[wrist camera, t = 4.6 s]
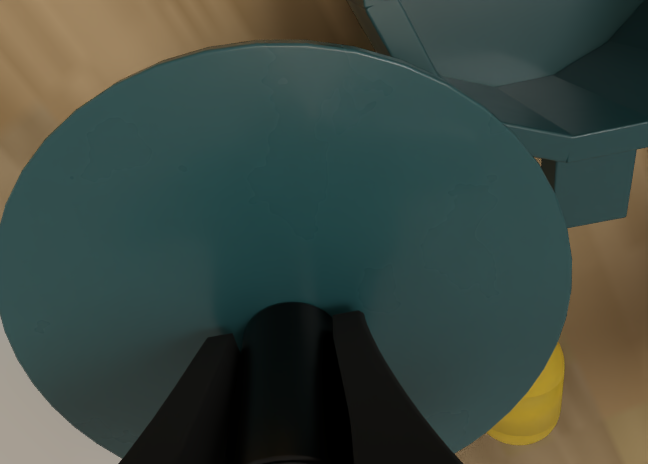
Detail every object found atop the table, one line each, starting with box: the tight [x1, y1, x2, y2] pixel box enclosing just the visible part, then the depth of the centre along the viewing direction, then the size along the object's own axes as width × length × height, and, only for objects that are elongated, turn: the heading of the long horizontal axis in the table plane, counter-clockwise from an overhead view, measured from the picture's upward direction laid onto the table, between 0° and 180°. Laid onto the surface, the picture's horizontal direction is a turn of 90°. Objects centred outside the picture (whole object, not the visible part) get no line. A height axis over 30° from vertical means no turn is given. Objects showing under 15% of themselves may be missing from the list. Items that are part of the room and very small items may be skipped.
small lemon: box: [486, 342, 565, 445], centre depth 23 cm, size 5×9×5 cm, turn 11°
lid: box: [0, 40, 572, 464], centre depth 10 cm, size 14×14×5 cm
